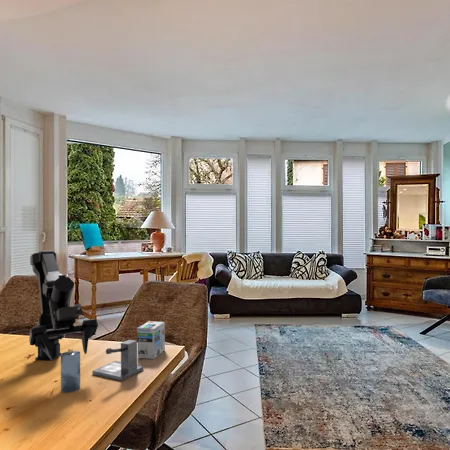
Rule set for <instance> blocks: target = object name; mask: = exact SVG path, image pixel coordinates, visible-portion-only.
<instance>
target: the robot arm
mask: <svg viewBox="0 0 450 450" xmlns="http://www.w3.org/2000/svg"><path fill="white" fill-rule="evenodd" d="M57 262H58V259H57V252H56V251H55V250H53V249H51V250H41V251H38V252H34V253H32V254H31V255H30V257H29V263H30V266H32V271H33V273H34V274H35V275H36V276H37V278H38V279H37V280H38V289H39V290H38V291H39V292H38V293H39V301H40V303H39V304H40V314H41V315H40V317H39V318H38V321H36V322H37V323H36V324H37V325H36V326H33V327H31V329H30V331H29V336H28V339H29V340H28V341H29V345H30V346H35V347H36V348H37V356H36V357H35V358H34V360H38V361H54V360H55V359H56V358H58V357H61V354H62V352H61V343H60V340H63V338H64V335H69V334H70V335H71V334H76V333H81V344H82V351H83V353H84V355H86V354H87V353H88V346H89V340H90V339H91V338H92V337H93V336H95V335H96V332H97V330H98V327H99V322H98V320H97V319H95V318H91V319H90V318H89V319H83V321H82V324H79V325H74V324H76V318H77V317H78V316H79V317H80V316H81V315H83V307H82V305H81V303H77V304H74V305H73V306H70V301H71V299H72V295H73V292H74V288H75V282H74V281H73V280H72V279H71V278H68V277H67V276H66V275H65V274H62V273H61V272H60V269H59V267H58V263H57Z"/></svg>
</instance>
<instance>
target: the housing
mask: <svg viewBox="0 0 450 450" xmlns="http://www.w3.org/2000/svg"><path fill="white" fill-rule="evenodd" d="M80 389H81V352H80V351H78V350H74V349H73V348H69V349H67V351H64V352H61V355H60V391H61V393H68V394H69V393H73V392H76V391H79V390H80Z"/></svg>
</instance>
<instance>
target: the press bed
mask: <svg viewBox="0 0 450 450" xmlns="http://www.w3.org/2000/svg"><path fill="white" fill-rule="evenodd" d="M105 353H106V354H107V355H111V354H112V353H120V361H118V360H114V361H112V362H109V363H106V364H105V365H103V366H100V367H98V368H95V369H93V370H92V375H93V376H97V377H102V378H106V379H110V380H114V381H115V380H116V381H119V382H123V381H125V380H127V379H129V378H131V377H133V376H134V375H137V374H138V373H140V372H143V371H144V366H142V365H138V340H135V339H128V340H124V341H123V342H121V343H120V348H111V347H108V348H106V350H105Z"/></svg>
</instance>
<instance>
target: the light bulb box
mask: <svg viewBox="0 0 450 450" xmlns="http://www.w3.org/2000/svg"><path fill="white" fill-rule="evenodd" d="M165 325H166V323H165V321H152V320H148V321H147V322H146V323H144V324H142V325H139V327H137V335H136V336H137V359H148V360H149V359H150V360H151V359H152V360H155V359H156V358H158V357H159V356H160V355H161V354H163V353H164V352H165V350H166V346H165V345H166V340H165V339H166V336H165V333H166V331H165V330H166V326H165ZM163 351H164V352H163Z"/></svg>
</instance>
